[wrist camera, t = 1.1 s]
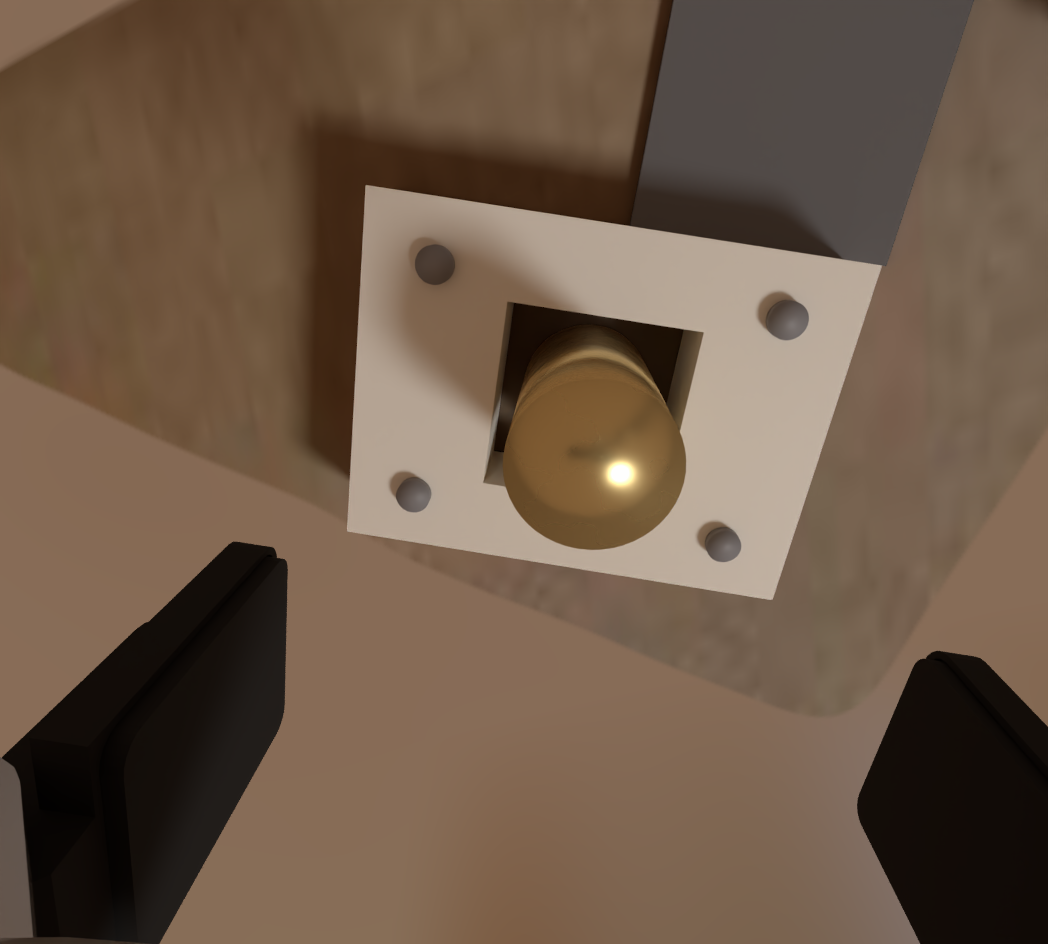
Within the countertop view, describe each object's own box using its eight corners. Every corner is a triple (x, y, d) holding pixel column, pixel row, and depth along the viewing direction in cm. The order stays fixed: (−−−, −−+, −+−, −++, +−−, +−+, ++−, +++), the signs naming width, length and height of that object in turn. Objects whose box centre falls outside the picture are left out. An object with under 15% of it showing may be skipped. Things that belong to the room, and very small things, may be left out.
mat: (980, -40, 20) (988, -45, 20) (881, 265, 24) (886, 266, 23) (688, -84, 20) (690, -90, 20) (629, 225, 24) (630, 225, 23)
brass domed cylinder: (660, 334, 25) (705, 394, 17) (634, 454, 27) (664, 562, 18) (534, 315, 25) (516, 364, 17) (516, 435, 27) (491, 535, 18)
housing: (839, 258, 24) (887, 266, 20) (749, 555, 28) (775, 605, 24) (393, 189, 24) (361, 184, 20) (372, 494, 28) (343, 535, 25)
